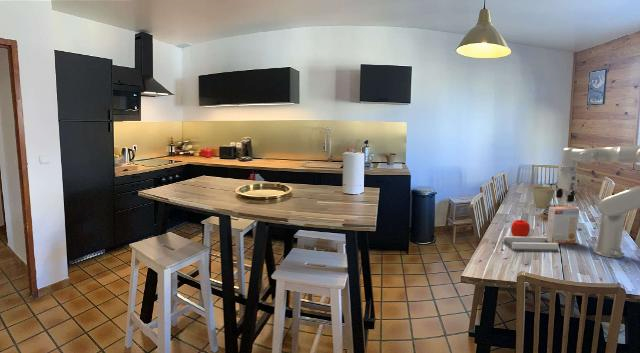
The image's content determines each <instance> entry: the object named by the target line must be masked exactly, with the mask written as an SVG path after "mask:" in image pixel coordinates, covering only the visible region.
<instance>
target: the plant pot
mask: <svg viewBox="0 0 640 353" xmlns="http://www.w3.org/2000/svg"><path fill="white" fill-rule="evenodd" d="M532 189H533V190H532V193H533V200H534V203H535V204H534V205H535V206H536V208H538V209H548V208H549V205H550V203H551V201H552V199H553V197H554V194H555V191H556V189H555V188H553V187H550V186H549V187H548V186H540V185H539V186H536V185H535V186H533V187H532Z"/></svg>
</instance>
